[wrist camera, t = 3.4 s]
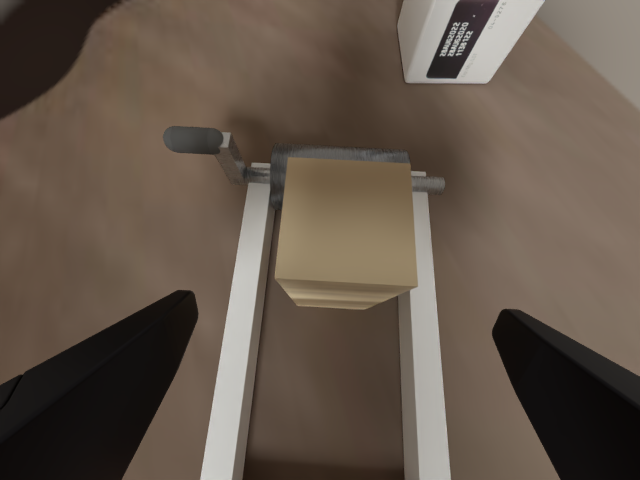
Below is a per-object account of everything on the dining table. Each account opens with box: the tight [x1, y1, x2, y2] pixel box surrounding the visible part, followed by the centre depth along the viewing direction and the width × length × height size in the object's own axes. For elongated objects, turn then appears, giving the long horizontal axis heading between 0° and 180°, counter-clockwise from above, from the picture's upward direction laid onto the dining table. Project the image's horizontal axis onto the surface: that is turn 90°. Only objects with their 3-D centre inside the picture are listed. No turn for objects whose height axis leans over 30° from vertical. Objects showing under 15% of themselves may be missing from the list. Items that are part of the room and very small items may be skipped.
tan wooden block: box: [274, 157, 418, 310], centre depth 14 cm, size 4×4×10 cm
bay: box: [163, 126, 451, 480], centre depth 14 cm, size 23×17×6 cm
